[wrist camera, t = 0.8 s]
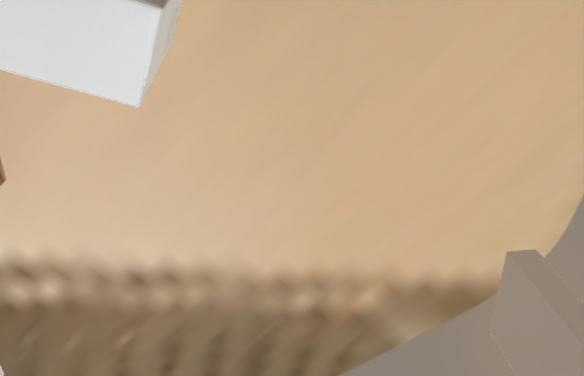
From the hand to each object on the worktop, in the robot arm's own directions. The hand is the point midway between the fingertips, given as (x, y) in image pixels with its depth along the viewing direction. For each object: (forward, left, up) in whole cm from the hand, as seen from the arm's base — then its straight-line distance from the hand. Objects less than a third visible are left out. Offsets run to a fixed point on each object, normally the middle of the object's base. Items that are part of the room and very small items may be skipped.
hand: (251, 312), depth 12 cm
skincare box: (-5, -6, -21) cm, 23 cm away
